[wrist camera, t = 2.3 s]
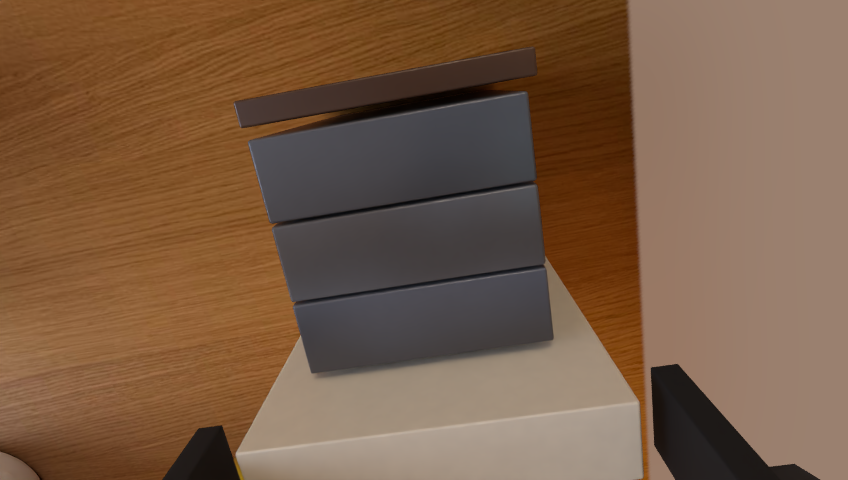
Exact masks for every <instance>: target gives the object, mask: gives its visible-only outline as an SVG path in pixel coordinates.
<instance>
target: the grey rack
mask: <svg viewBox="0 0 848 480" xmlns="http://www.w3.org/2000/svg"><path fill="white" fill-rule="evenodd" d="M535 75H537V64H536V54H535V48H534V47H527V48H521V49H516V50H510V51H505V52H499V53H494V54H489V55H483V56H478V57H472V58H467V59H462V60H456V61H451V62H445V63H440V64H434V65H429V66H424V67H418V68H413V69H407V70H402V71H397V72H391V73H386V74H380V75H375V76H369V77H364V78H359V79H353V80H348V81H342V82H337V83H332V84H326V85H321V86H315V87H310V88H304V89H299V90H294V91H288V92H283V93H277V94H272V95H267V96H261V97H256V98H250V99H245V100H239V101H235V102H234V107H235V110H236V114H237V118H238V121H239V125H240V127H241V128H247V127H252V126H258V125H264V124H269V123H275V122H280V121H286V120H291V119H297V118H302V117H308V116H314V115H319V114H325V113H330V112H336V111H341V110H347V109H352V108H358V107H363V106H369V105H375V104H380V103H386V102H391V101H397V100H402V99H408V98H413V97H419V96H425V95H430V94H436V93H441V92H447V91H452V90H458V89H463V88H469V87H475V86H480V85H486V84H491V83H497V82H502V81H508V80H513V79H519V78H525V77H530V76H535ZM248 145H249V148H250V152H251V156H252V159H253V163H254V167H255V170H256V174H257V178H258V181H259V185H260V189H261V192H262V196H263V200H264V203H265V207H266V211H267V214H268V218H269V221H270V223H272V224H273V223H277V224H276V225H275V226H274V227H273V228H272V232H273V235H274V239H275V243H276V246H277V250H278V254H279V257H280V261H281V265H282V268H283V272H284V276H285V279H286V283H287V287H288V290H289V294H290V298H291V301H292V302H296V303H295V304H294V306H293V309H294V313H295V316H296V320H297V324H298V327H299V331H300V335H301V338H302V342H303V346H304V349H305V353H306V357H307V360H308V364H309V368H310V371H311V373H312V374H314V373H321V372H328V371H335V370H342V369H350V368H357V367H364V366H371V365H378V364H386V363H393V362H400V361H407V360H414V359H421V358H429V357H436V356H443V355H450V354H457V353H465V352H472V351H479V350H486V349H493V348H500V347H508V346H515V345H522V344H529V343H536V342H544V341H551V340H553V339H554V334H553V324H552V315H551V306H550V296H549V287H548V277H547V269H546V268H545V266H544V264H545V262H546V259H545V250H544V240H543V231H542V222H541V212H540V203H539V193H538V186H537V184H536V183H534V182H533V181H535V180H536V179H537V174H536V164H535V155H534V146H533V136H532V127H531V117H530V108H529V99H528V93H527V92H525V91H500V90H480V91H474V92H469V93H463V94H457V95H452V96H446V97H441V98H435V99H430V100H424V101H418V102H413V103H407V104H402V105H396V106H391V107H385V108H379V109H374V110H368V111H363V112H357V113H352V114H346V115H340V116H336V117H332V118H329V119H325V120H321V121H318V122H314V123H310V124H307V125H303V126H300V127H296V128H292V129H289V130H285V131H282V132H278V133H274V134H271V135H267V136H263V137H260V138H256V139H253V140H250V141H248Z"/></svg>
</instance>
